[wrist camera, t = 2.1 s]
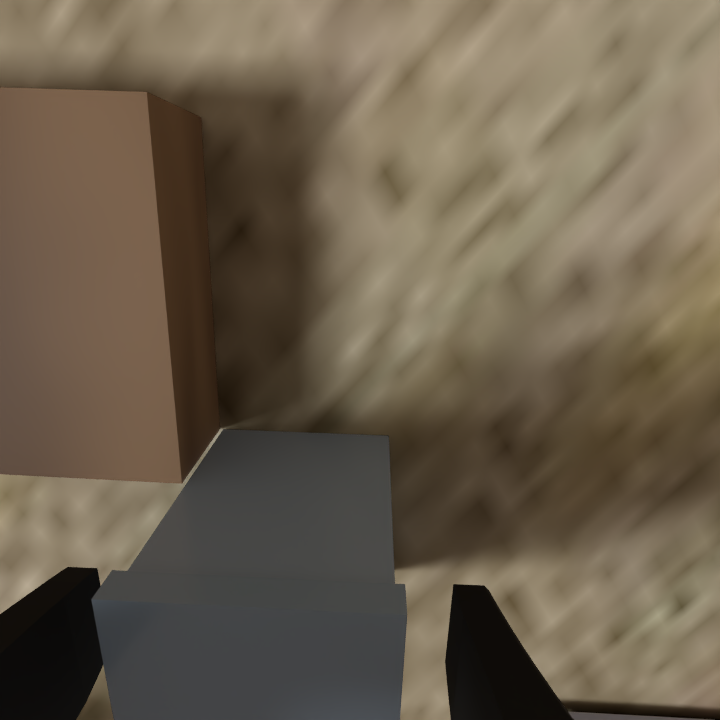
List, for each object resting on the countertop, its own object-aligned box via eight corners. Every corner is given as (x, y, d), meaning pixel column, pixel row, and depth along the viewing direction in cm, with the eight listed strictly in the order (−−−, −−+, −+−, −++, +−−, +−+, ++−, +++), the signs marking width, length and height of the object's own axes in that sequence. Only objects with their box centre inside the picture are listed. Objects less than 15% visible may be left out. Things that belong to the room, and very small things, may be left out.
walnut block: (206, 120, 11) (147, 91, 8) (224, 422, 13) (182, 483, 10) (-118, 108, 11) (-289, 77, 8) (-45, 409, 14) (-159, 465, 11)
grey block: (394, 430, 13) (407, 615, 7) (387, 574, 14) (392, 823, 9) (217, 423, 13) (90, 599, 7) (228, 567, 14) (130, 807, 9)
